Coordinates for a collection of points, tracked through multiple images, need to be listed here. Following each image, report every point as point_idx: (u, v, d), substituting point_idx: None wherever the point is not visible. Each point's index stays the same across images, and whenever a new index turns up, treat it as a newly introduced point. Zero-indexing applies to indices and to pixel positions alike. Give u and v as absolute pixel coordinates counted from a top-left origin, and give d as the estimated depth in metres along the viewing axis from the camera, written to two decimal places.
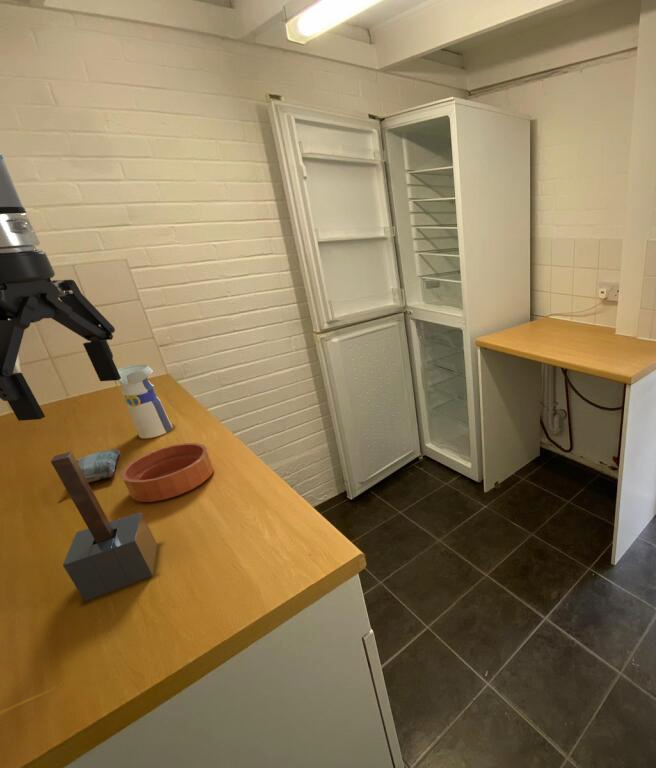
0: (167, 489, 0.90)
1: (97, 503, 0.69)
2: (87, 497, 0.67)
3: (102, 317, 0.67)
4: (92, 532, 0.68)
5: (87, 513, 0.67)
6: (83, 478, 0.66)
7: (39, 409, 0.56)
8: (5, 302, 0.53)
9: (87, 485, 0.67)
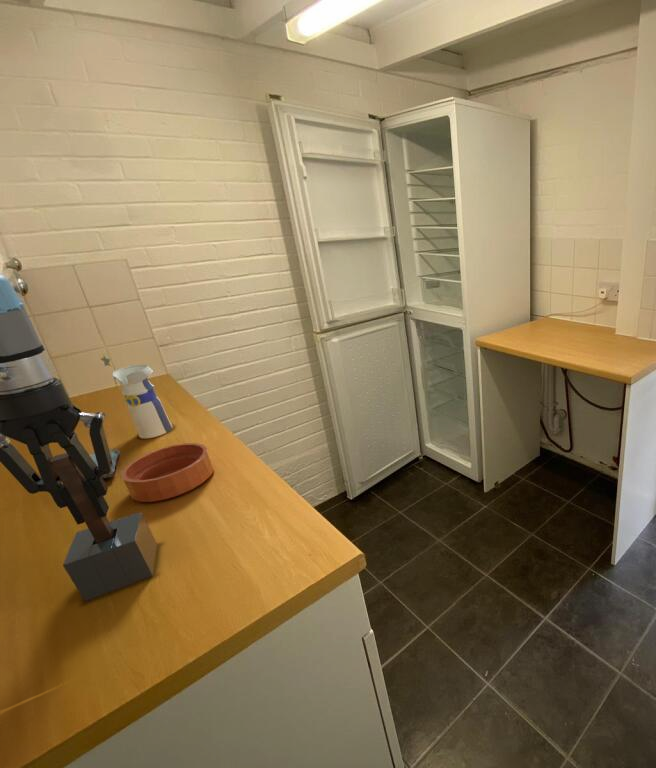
0: (167, 489, 0.90)
1: None
2: (87, 497, 0.67)
3: (104, 458, 0.66)
4: (92, 532, 0.68)
5: (87, 513, 0.67)
6: (83, 478, 0.66)
7: (78, 517, 0.67)
8: (3, 433, 0.59)
9: None
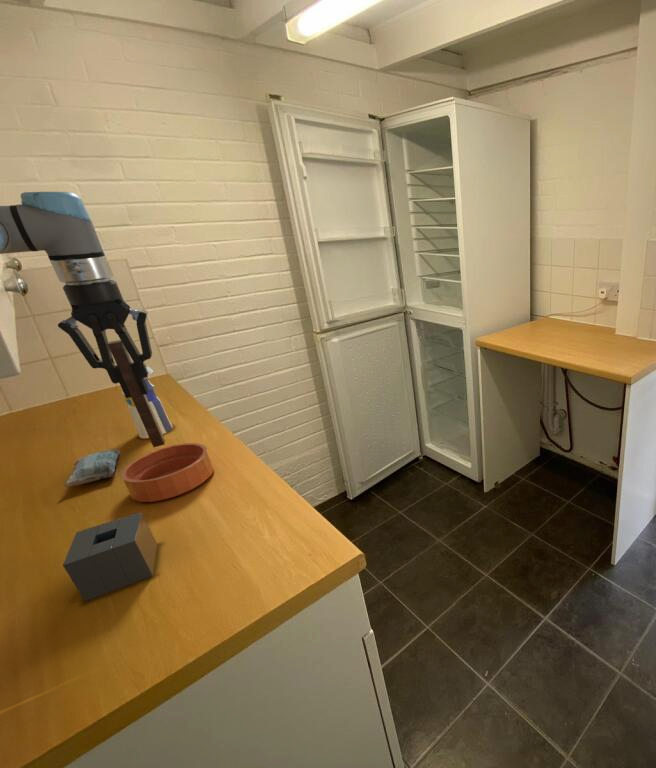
0: (167, 489, 0.90)
1: None
2: (134, 377, 0.86)
3: (147, 345, 0.86)
4: (136, 407, 0.88)
5: (133, 390, 0.87)
6: (130, 362, 0.86)
7: (127, 392, 0.86)
8: (74, 317, 0.79)
9: None
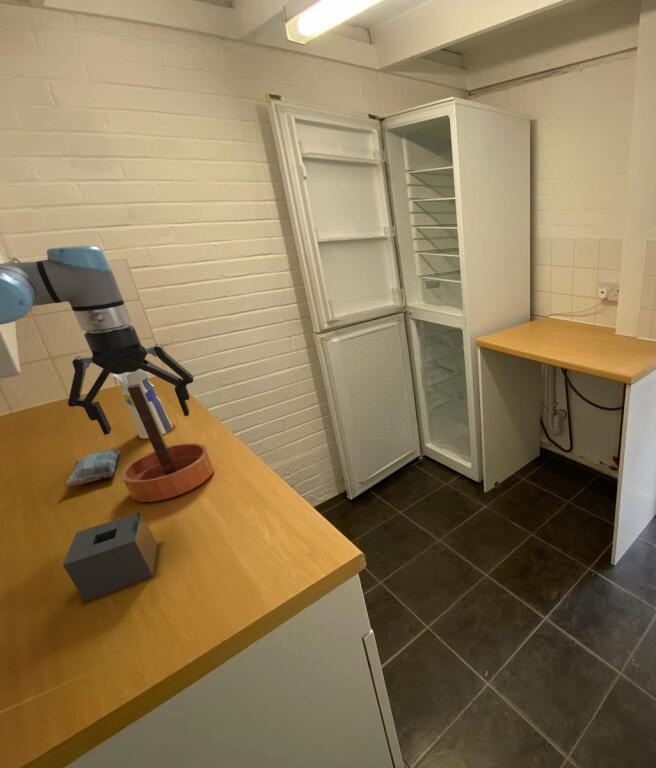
0: (167, 489, 0.90)
1: (157, 424, 0.92)
2: (151, 418, 0.90)
3: (182, 372, 0.90)
4: (153, 446, 0.92)
5: (150, 430, 0.91)
6: (148, 403, 0.90)
7: (105, 429, 0.86)
8: (95, 362, 0.82)
9: (150, 409, 0.90)
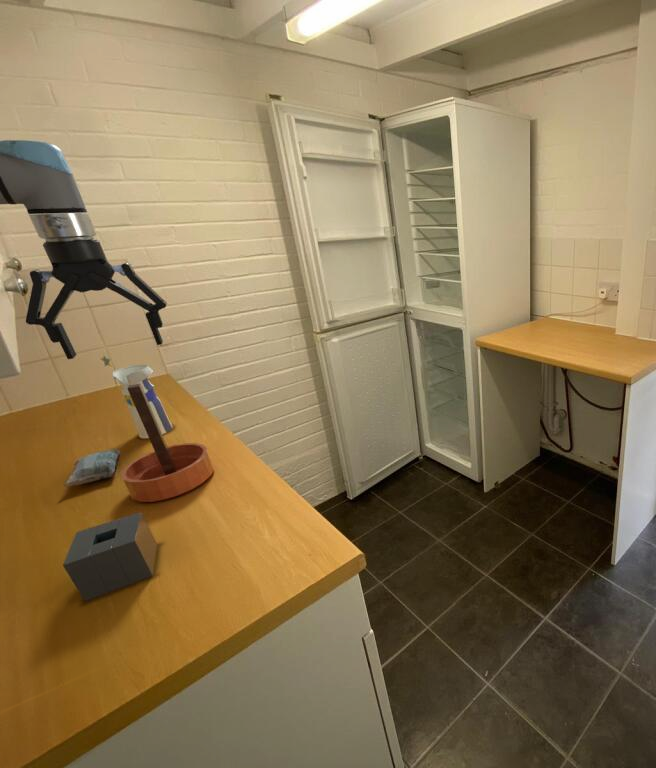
0: (167, 489, 0.90)
1: (157, 424, 0.92)
2: (151, 418, 0.90)
3: (153, 295, 0.84)
4: (153, 446, 0.92)
5: (150, 430, 0.91)
6: (148, 403, 0.90)
7: (68, 352, 0.79)
8: (55, 276, 0.75)
9: (150, 409, 0.90)
